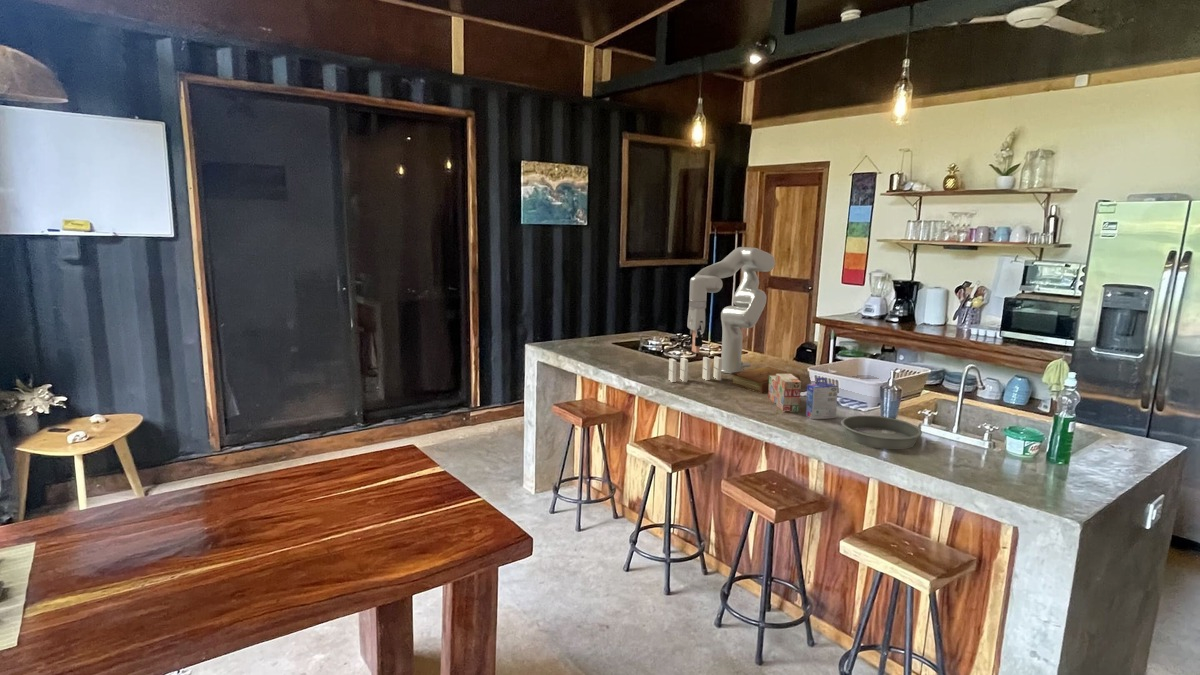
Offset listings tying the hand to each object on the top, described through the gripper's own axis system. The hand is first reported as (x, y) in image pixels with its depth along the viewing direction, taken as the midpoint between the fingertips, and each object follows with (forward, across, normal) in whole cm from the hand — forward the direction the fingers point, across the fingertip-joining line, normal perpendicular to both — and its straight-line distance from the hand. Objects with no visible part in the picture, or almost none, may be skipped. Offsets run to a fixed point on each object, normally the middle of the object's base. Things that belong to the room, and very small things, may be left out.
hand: (695, 344), depth 283 cm
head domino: (+17, 0, -11) cm, 20 cm away
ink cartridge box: (+17, +62, +24) cm, 69 cm away
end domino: (+17, 0, +11) cm, 20 cm away
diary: (+17, +15, +27) cm, 36 cm away
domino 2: (+17, 0, +6) cm, 18 cm away
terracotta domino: (+3, 0, 0) cm, 3 cm away
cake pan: (+17, +87, +30) cm, 94 cm away
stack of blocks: (+17, +44, +19) cm, 51 cm away
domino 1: (+17, 0, -5) cm, 17 cm away
